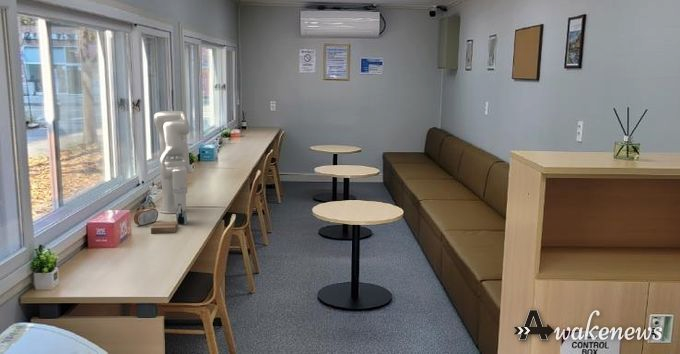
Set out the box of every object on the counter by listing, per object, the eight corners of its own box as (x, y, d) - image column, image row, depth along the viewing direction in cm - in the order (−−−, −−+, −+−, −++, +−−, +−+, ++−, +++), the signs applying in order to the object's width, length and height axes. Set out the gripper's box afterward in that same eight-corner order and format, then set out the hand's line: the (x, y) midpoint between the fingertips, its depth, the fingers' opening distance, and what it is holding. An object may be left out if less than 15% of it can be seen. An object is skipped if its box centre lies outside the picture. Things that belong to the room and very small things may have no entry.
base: (155, 227, 309) (155, 222, 309) (178, 226, 311) (177, 221, 310) (151, 233, 298) (150, 228, 297) (174, 233, 299) (174, 227, 299)
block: (178, 222, 320) (177, 211, 319) (187, 221, 320) (186, 211, 319) (176, 224, 315) (176, 214, 314) (185, 224, 316) (185, 213, 314)
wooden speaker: (155, 220, 323) (154, 206, 322) (159, 221, 322) (158, 206, 320) (133, 226, 311) (132, 211, 309) (137, 227, 309) (136, 212, 308)
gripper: (175, 187, 322) (177, 218, 325) (170, 193, 305) (172, 226, 309) (189, 187, 323) (190, 218, 326) (185, 193, 306) (186, 226, 310)
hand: (181, 222), depth 318 cm, fingers closed on block, 5 cm apart
